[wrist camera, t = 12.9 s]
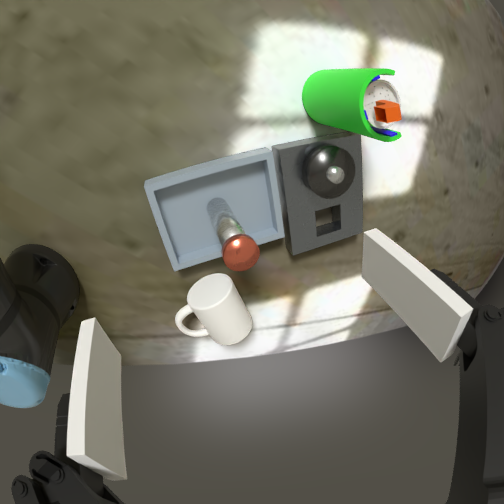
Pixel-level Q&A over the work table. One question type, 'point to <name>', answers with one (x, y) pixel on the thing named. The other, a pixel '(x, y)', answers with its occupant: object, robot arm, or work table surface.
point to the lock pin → (232, 237)
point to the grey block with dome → (319, 189)
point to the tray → (206, 188)
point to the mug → (216, 310)
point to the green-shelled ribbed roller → (354, 101)
